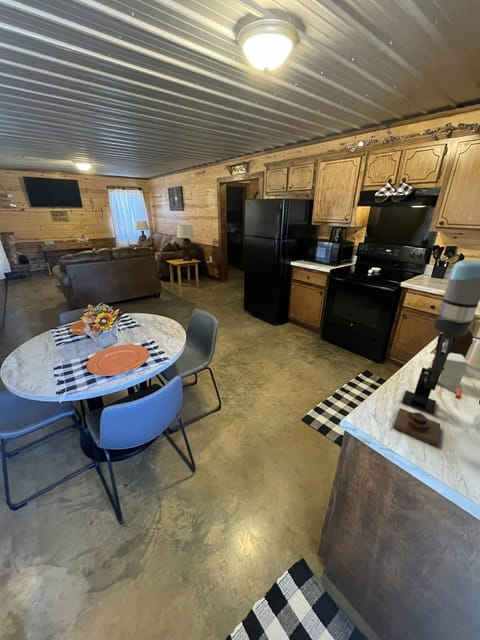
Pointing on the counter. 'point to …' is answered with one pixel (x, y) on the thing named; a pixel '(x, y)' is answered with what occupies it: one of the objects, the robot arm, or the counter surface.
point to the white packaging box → (453, 370)
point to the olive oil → (462, 344)
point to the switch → (456, 392)
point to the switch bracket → (420, 395)
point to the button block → (417, 427)
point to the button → (419, 418)
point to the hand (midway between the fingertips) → (429, 387)
